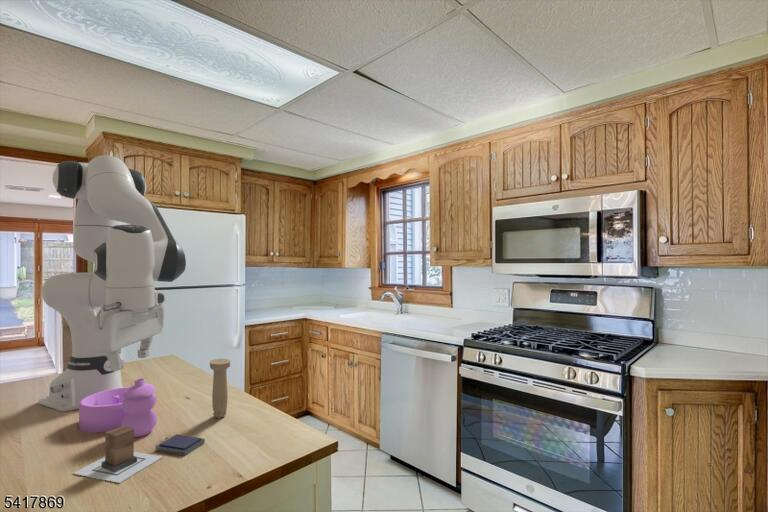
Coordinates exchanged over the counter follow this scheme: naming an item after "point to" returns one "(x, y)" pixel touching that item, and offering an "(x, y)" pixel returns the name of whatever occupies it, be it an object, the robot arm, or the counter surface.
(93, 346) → the robot arm
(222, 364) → the handle
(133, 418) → the container set
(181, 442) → the ink tin
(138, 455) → the card
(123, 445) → the stamp
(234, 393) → the counter surface
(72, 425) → the counter surface
